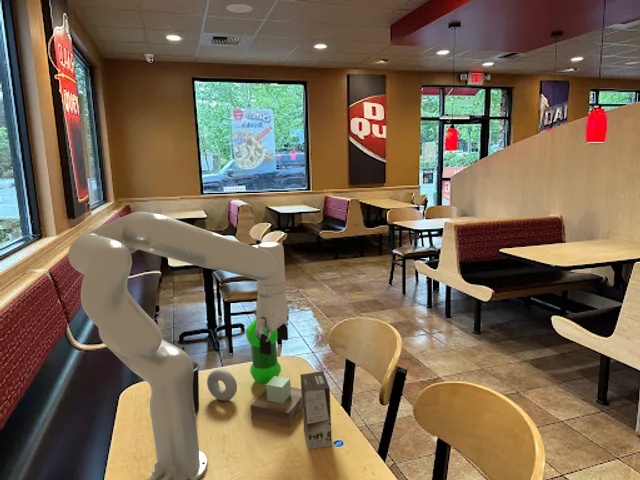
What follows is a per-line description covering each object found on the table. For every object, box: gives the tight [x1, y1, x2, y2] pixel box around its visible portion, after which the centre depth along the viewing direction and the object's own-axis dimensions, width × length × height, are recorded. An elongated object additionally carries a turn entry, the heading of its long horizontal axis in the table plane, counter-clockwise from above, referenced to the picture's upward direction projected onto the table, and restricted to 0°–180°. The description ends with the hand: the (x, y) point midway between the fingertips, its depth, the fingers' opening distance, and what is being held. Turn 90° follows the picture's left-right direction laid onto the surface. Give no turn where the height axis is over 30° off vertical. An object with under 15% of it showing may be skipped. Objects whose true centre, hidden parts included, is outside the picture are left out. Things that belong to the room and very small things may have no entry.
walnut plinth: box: [250, 386, 303, 427], centre depth 128 cm, size 12×12×4 cm
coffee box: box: [299, 370, 333, 450], centre depth 114 cm, size 9×6×16 cm
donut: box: [206, 368, 238, 402], centre depth 134 cm, size 10×4×10 cm, turn 68°
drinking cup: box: [181, 346, 200, 414], centre depth 128 cm, size 8×8×20 cm
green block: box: [265, 376, 291, 404], centre depth 127 cm, size 5×5×5 cm
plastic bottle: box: [245, 306, 282, 386], centre depth 142 cm, size 10×10×25 cm
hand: (274, 346), depth 124 cm, fingers open, 9 cm apart
